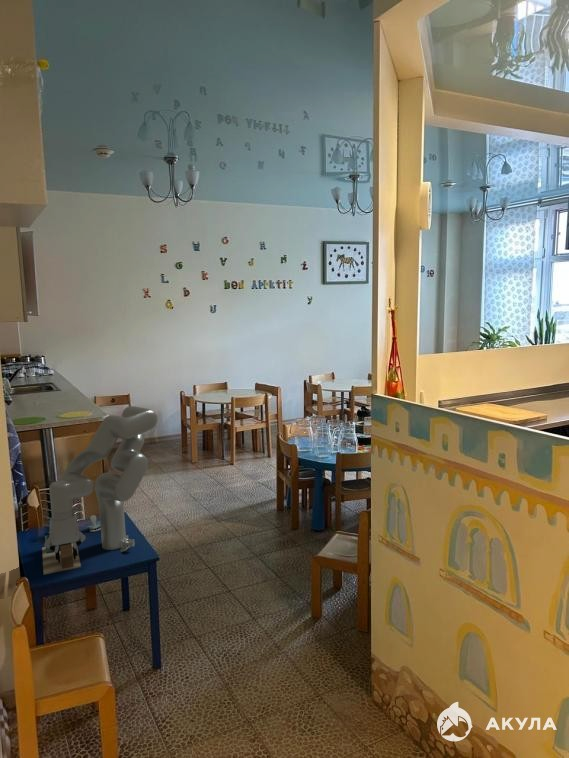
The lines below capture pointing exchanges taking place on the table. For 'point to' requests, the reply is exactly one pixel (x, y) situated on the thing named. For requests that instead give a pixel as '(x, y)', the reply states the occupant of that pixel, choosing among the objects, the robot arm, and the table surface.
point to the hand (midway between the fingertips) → (66, 559)
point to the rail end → (66, 555)
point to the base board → (56, 562)
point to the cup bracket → (50, 543)
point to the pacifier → (94, 524)
